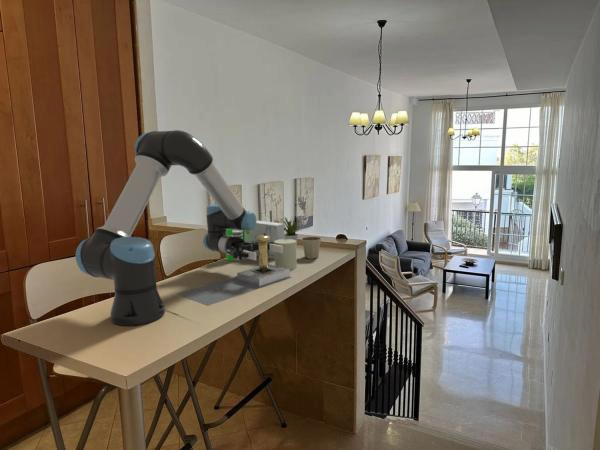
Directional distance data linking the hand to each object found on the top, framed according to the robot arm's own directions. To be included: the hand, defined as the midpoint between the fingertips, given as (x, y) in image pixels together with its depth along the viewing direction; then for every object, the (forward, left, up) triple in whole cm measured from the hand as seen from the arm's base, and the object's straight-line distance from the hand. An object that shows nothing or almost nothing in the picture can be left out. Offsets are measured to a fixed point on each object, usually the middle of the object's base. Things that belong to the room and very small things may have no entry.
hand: (269, 253), depth 161 cm
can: (+17, +8, -11) cm, 22 cm away
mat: (-12, +5, -11) cm, 17 cm away
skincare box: (+27, +32, -11) cm, 43 cm away
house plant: (+47, +35, -11) cm, 60 cm away
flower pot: (+38, +12, -11) cm, 41 cm away
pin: (0, +3, -10) cm, 11 cm away
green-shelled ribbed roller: (+15, +38, -11) cm, 43 cm away
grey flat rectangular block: (0, +3, -10) cm, 11 cm away
